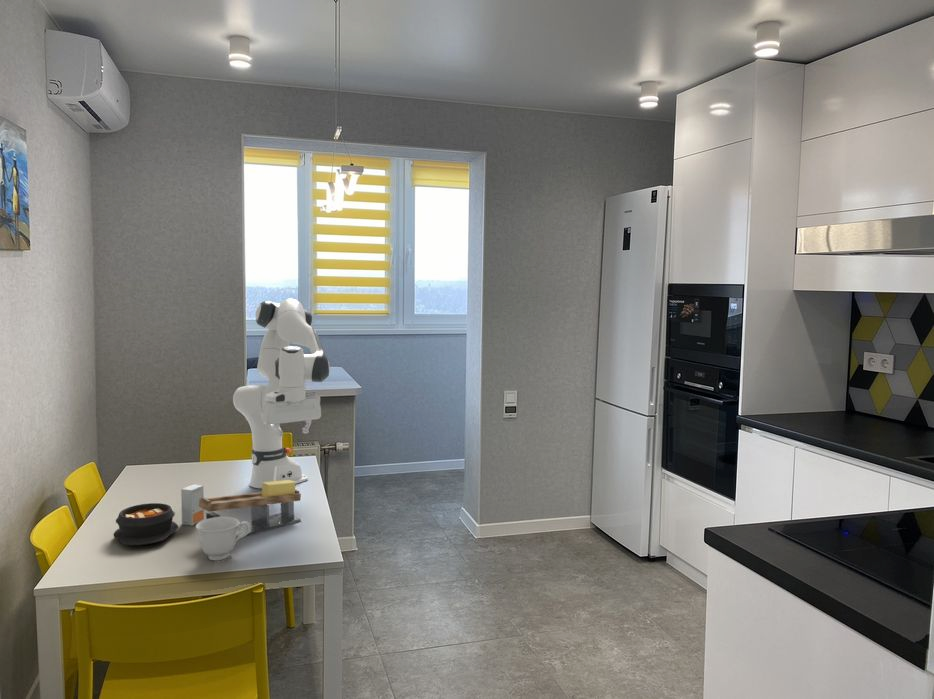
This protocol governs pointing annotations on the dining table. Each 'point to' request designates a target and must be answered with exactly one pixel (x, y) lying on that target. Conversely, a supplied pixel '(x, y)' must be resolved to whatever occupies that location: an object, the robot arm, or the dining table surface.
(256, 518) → the fulcrum stand
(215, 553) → the teacup
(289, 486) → the slider block
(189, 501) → the skincare box
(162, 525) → the casserole
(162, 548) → the dining table surface
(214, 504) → the balance plank
